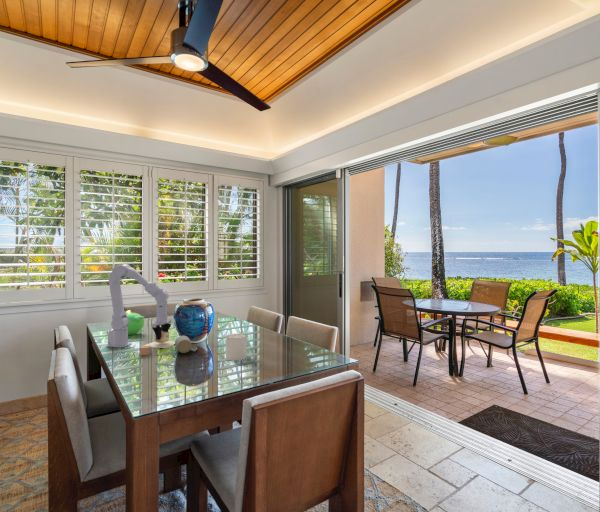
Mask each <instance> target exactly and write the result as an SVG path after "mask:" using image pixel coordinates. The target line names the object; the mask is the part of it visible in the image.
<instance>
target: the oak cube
mask: <svg viewBox="0 0 600 512" xmlns="http://www.w3.org/2000/svg"><path fill="white" fill-rule="evenodd" d="M154 336H155V337H154V340H155V342H158V343H165V342H167V341H170V332H169V331H168V332H164V331H162V332H161V339H160V340H159V339H156V335H154Z"/></svg>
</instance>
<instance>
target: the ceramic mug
mask: <svg viewBox="0 0 600 512" xmlns="http://www.w3.org/2000/svg"><path fill="white" fill-rule="evenodd" d="M174 341H175V345H174V347H175V348H176V350H177V351H178V352H179V353H181V354H188V352H190V351H193V352H197V351H196V350H198V347H197V346H195V345H193V344H192V341H191V340H190V338H189V337H188V336H186V335H180V336H178V337H176V339H175V340H174Z"/></svg>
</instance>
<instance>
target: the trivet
mask: <svg viewBox="0 0 600 512" xmlns="http://www.w3.org/2000/svg"><path fill="white" fill-rule="evenodd" d="M175 341H176V340H169V341H167V342H165V343H158V342H155V341H152V342H149V343H146V344H144V345H142V346H151V349H160V348H164V349H163V350H166V349H169V348H171V347H173V346H175V345H174V344H175ZM172 345H173V346H172ZM170 346H171V347H170ZM168 347H169V348H168ZM165 348H166V349H165Z"/></svg>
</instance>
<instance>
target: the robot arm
mask: <svg viewBox="0 0 600 512" xmlns="http://www.w3.org/2000/svg"><path fill="white" fill-rule="evenodd" d="M126 277H127V278H132V279H133V280H135V281H136V282H138V283H139V284H140V285H142V287H144V291H145V292H146V293H148V294H149V295H150V296H151V297H153V298H154V300H155V302H156V306H155V307H156V314H155V317H156V319H155V320H156V321H155V322H153V323H151V329H152V330H153V332H154V334H155V335H156V339H159V340H160V339H161V332H162V331H164V332H169V330H170V328H171V327H172V324H171V323H172V319H170V318H168V299H169V293H168V292H167V291H166V290H164V289H163V288H160V287H159V286H158V285H157V283H156V282H153V281H151V282H150V281H148V280H147V279H146V278H145V277H144V276H143V275H141V274H140V272H138V271H137V270H136V269H135V268H134V267H132V266H131V265H130V264H127V263H124V264H117V265H115V266H114V267H113V268H112V269H111V273H110V276H109V278H108V285H109V292H110V297H111V304H112V311H113V313H112V317H111V319H112V321H111V323H110V324H111V329H110V330H109V331H108V333H107V345H106V347H107V348H108V347H109V348H125V347H127V346H131V345H130V344H132V343H131V342H129V341H128V340H129V338H128V337H129V335H128V327H127V325H128V324H129V318H128V317H127V315H126V311H125V306H124V300H123V295H122V289H121V281H122V280H123V279H124V278H126ZM112 328H113V329H112ZM155 335H154V336H155Z"/></svg>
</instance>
